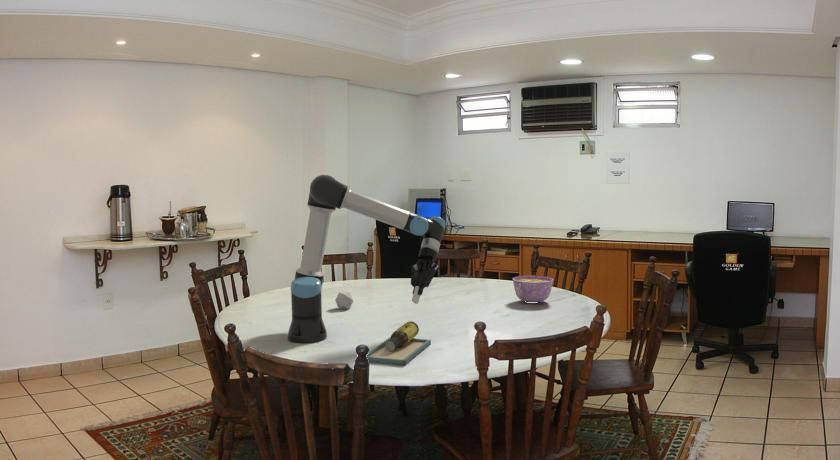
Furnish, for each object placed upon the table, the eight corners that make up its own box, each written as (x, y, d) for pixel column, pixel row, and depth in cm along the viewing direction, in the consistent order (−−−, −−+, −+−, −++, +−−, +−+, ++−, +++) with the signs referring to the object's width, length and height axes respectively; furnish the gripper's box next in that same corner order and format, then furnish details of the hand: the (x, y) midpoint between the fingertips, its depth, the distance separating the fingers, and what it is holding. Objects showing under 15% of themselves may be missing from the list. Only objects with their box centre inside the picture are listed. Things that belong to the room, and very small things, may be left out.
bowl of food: (508, 304, 314) (508, 281, 313) (516, 297, 333) (516, 274, 332) (550, 307, 308) (550, 283, 307) (555, 299, 326) (555, 276, 325)
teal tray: (391, 341, 250) (391, 336, 250) (430, 344, 245) (430, 339, 245) (361, 361, 224) (361, 356, 224) (404, 365, 219) (404, 360, 218)
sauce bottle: (414, 318, 248) (393, 334, 230) (422, 332, 248) (401, 350, 230) (401, 324, 251) (379, 341, 232) (409, 338, 250) (387, 356, 232)
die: (345, 312, 303) (356, 295, 305) (330, 303, 304) (341, 286, 306) (347, 315, 311) (358, 298, 313) (332, 306, 312) (343, 289, 314)
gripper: (446, 254, 267) (433, 306, 256) (420, 256, 275) (406, 306, 263) (437, 245, 262) (423, 297, 251) (411, 247, 270) (396, 297, 258)
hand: (414, 302), depth 257 cm, fingers closed
